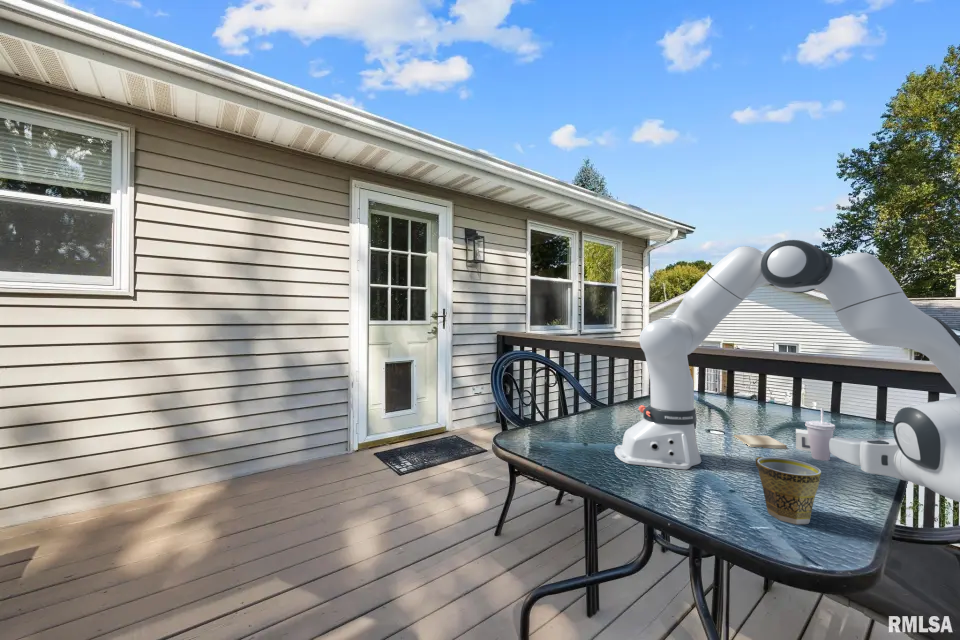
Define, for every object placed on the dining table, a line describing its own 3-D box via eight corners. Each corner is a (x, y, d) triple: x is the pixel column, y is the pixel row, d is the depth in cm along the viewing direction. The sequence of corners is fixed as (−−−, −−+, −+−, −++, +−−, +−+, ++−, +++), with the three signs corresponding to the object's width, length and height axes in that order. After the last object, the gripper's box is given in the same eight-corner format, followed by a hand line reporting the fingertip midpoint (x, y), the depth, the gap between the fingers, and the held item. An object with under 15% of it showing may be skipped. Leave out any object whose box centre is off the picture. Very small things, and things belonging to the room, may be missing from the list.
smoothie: (841, 463, 107) (841, 410, 107) (814, 461, 108) (813, 410, 108) (826, 455, 113) (825, 405, 113) (800, 454, 114) (799, 405, 114)
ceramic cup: (836, 528, 74) (835, 474, 74) (786, 530, 73) (785, 476, 73) (778, 497, 87) (778, 451, 87) (735, 499, 86) (734, 452, 86)
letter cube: (818, 452, 115) (817, 435, 115) (796, 449, 118) (795, 432, 118) (817, 448, 119) (817, 431, 119) (796, 445, 122) (795, 428, 123)
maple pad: (750, 447, 120) (750, 444, 120) (734, 437, 130) (734, 434, 130) (786, 448, 119) (786, 445, 119) (767, 438, 129) (767, 435, 129)
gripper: (969, 445, 82) (907, 428, 95) (857, 442, 85) (813, 426, 98) (970, 476, 82) (908, 454, 95) (857, 472, 85) (813, 451, 98)
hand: (859, 440), depth 97 cm, fingers open, 8 cm apart
